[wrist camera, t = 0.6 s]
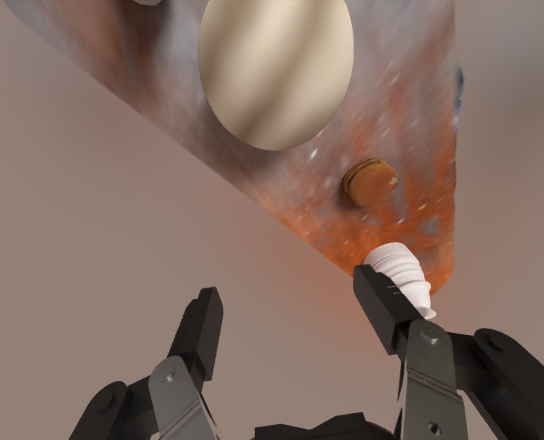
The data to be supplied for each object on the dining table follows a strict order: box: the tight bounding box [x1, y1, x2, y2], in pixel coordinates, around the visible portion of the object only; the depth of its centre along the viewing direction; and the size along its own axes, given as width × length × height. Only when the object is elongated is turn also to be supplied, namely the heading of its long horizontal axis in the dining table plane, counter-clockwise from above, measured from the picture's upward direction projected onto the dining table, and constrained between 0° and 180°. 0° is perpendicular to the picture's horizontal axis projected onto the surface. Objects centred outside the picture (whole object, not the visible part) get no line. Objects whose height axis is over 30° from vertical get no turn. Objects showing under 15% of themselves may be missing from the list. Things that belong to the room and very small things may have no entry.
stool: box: [198, 0, 354, 150], centre depth 24 cm, size 15×15×10 cm
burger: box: [343, 158, 398, 207], centre depth 39 cm, size 10×9×5 cm
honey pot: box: [363, 242, 436, 319], centre depth 52 cm, size 13×13×18 cm
